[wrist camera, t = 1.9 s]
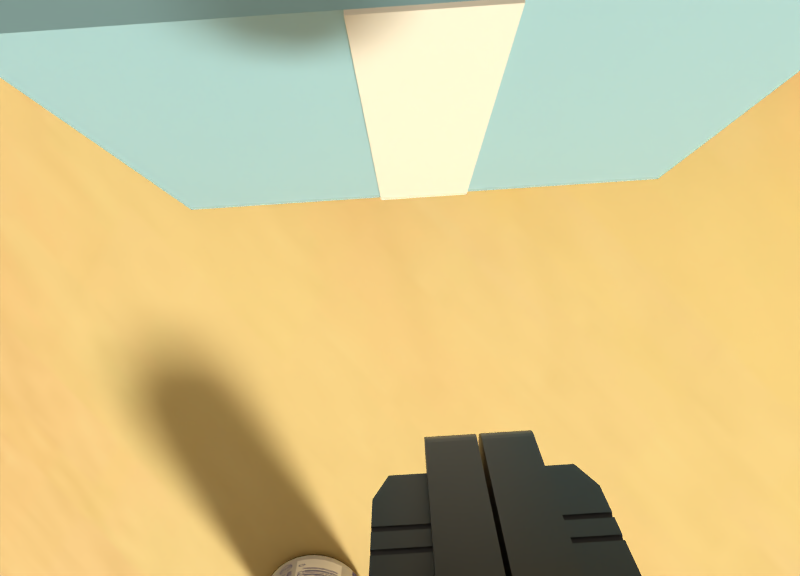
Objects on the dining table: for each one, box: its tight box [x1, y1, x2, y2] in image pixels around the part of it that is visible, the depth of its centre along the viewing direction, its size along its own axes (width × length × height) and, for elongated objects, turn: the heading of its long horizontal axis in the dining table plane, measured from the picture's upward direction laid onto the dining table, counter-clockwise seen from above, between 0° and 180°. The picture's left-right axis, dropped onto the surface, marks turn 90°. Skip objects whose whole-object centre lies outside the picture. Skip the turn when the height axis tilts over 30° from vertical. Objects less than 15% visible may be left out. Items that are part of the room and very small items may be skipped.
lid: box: [0, 0, 800, 210], centre depth 19 cm, size 14×16×1 cm
